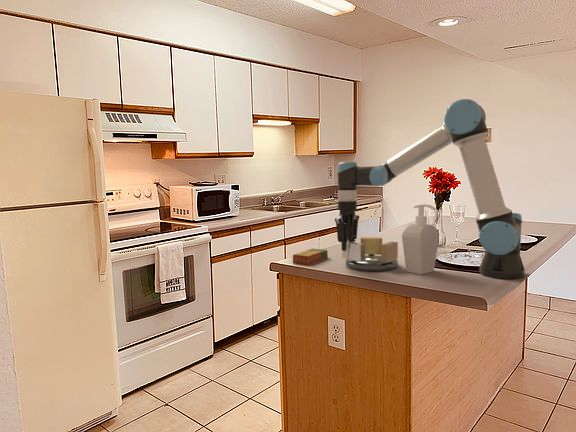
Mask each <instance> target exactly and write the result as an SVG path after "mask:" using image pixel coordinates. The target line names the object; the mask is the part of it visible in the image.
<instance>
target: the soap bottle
mask: <svg viewBox="0 0 576 432" xmlns="http://www.w3.org/2000/svg"><path fill="white" fill-rule="evenodd" d="M413 208H414V209H418V213H417V214H418V215H415V222H414V223H411V224H409V225H407V226H406V227H405V229H404V230H403V231H402V235H401V239H402V241H401V242H402V249H403V255H404V256H403V257H404V263H405V271H406V272H409V273H413V274H417V275H423V274H427V273H432V272H434V271H435V266H436V259H437V254H438V253H437V252H438V247H439V241H440V232H439V230H438V229H437V227H436V226H434V225H433V224H428V223H427V216H426V215H425V212H424V211H425V208H429V209H431V210H433V211H435V210H436V209H437V208H436V207H435V206H433V205H431V204H425V203H424V204H419V205H414V206H413Z"/></svg>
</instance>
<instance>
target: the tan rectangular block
mask: <svg viewBox="0 0 576 432" xmlns="http://www.w3.org/2000/svg"><path fill="white" fill-rule="evenodd" d="M398 244H399V242H398V241H389V242H386V243H382V245H381V255H380V256H381V262H384V263H392V261H393V260H398V256H399V255H398V254H399V249H398V248H399V247H398V246H399V245H398Z"/></svg>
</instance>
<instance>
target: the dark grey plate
mask: <svg viewBox="0 0 576 432" xmlns="http://www.w3.org/2000/svg"><path fill="white" fill-rule="evenodd" d="M345 267H346V268H348V269H350V270H353V271H358V272H359V271H360V272H366V271H368V273H380V272H381V273H382V272H389V271H394V270H397V269H398V267H399V261H398V259H396V260H393V261H392V263H384V262H381V255H377V254H374V256H369V254H365V261H362V262H359V261H357V262H351V260H349V259H345Z"/></svg>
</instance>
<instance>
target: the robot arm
mask: <svg viewBox="0 0 576 432" xmlns="http://www.w3.org/2000/svg"><path fill="white" fill-rule="evenodd" d="M486 118H487V115H486V112H485V110H484V109H483V107H482V106H481V105H480V104H478V103H477V101H475V100H473V99H469V98H465V99H464V98H462V99H461V98H460V99H459V100H458V99H457V100H456V101H453V102H452V103H451V104H449V105H448V107H447V108H446V109H445V112H444V115H443V122H442V125H441V126H439V127H437V128H436V129H435V130H433V131H431V132H430V133H428V134H426V135H425V136H424V137H422V138H421V139H419V140H417V141H416V142H414V143H412V144H411V145H409V146H407V148H404V149H403V150H401V151H400V152H399V153H397V154H396V155H394V156H392V157H391V158H389V159H388V160H386V161H384V162H383V163H382V164H379V165H376V166H375V165H374V166H358V163H357V162H356V161H340V162H339V163H338V165H337V173H336V174H337V200H338V201H337V209H338V211H339V214H338V217H336V218H335V219H334V222H335V225H336V227H335V228H336V235H337V236H336V237H337V241H338V243H341V258H342V259H344V258H345V260H346V259H348V243H347V241H350V242H356V240H357V238H358V227H359V221H360V216H359V215H357V214H356V211H357V210H358V209H357V207H358V206H357V203H358V202H357V199H358V197H357V196H358V194H357V193H358V192H357V191H358V189H357V187H358V186H359V187H361V186H362V187H363V186H366V187H383V186H386V185H387V184H388V183H390V182H391V181H392V180H394V179H395V178H396V177H398V176H400V175H401V174H403V173H405V172H407V171H408V170H409V169H411V168H413V167H414V166H416V165H418V164H419V163H421V162H422V161H424V160H426V159H428V158H430V157H431V156H432V155H434V154H436V153H438V152H439V151H441V150H443V149H444V148H446V147H447V146H449V145H451V144H453V145H454V146H455V147H458V149H459V151H460V154H461V158H462V162H463V166H464V168H465V171H466V176H467V178H468V182H469V186H470V188H471V189H470V190H471V192H472V194H473V195H472V196H473V198H474V202H475V204H476V208H477V212H478V215H476V217H475V222H476V225H477V228H478V234H479V235H478V239H479V243H480V245H481V247H482V248H483V249H484V254H483V257H482V260H481V262H480V265H479V274H480V275H483V276H486V277H489V278H495V279H504V280H505V279H506V280H507V279H508V280H512V279H513V280H516V279H521V278H524V277H525V273H526V272H525V271H526V270H525V267H524V264H523V261H522V257H521V240H522V223H523V220H522V218H523V217H522V214H521V213H516V212H514V213H513V210H512V209H510V208H508V207H507V206H506V204H505V202H504V198H503V195H502V191H501V187H500V184H499V182H498V178H497V175H496V170H495V168H494V165H493V160H492V158H491V155H490V151H489V148H488V144H487V141H486V138H487V136H488V135H489V130H488V128H487V124H486Z"/></svg>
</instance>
